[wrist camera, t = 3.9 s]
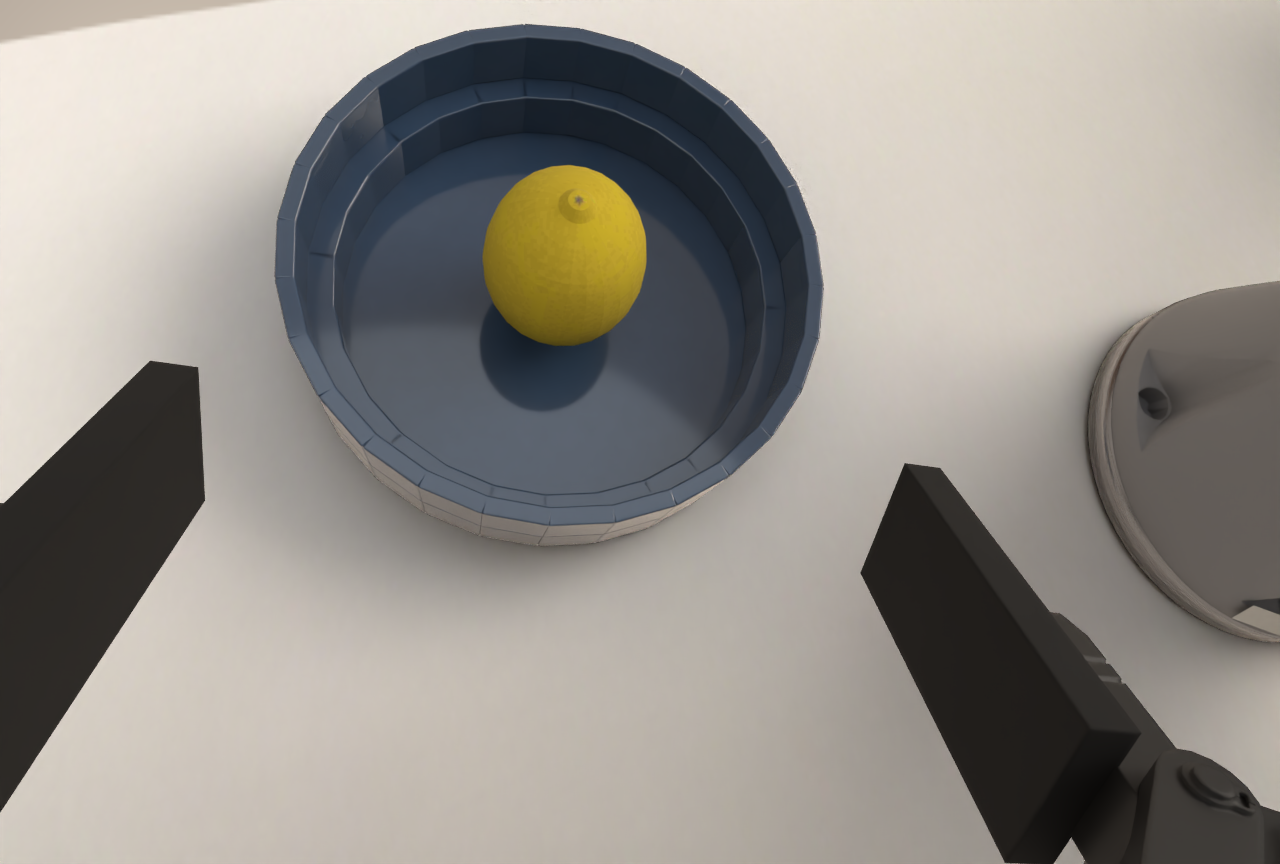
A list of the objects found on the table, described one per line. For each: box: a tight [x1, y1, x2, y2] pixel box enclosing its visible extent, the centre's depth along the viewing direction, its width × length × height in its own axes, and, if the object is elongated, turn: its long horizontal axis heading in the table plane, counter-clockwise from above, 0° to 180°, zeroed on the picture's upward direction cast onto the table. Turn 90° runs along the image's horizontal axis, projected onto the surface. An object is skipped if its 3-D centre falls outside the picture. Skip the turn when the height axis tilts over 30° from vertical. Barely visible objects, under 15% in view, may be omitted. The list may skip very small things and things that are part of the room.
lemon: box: [483, 165, 646, 346], centre depth 29 cm, size 6×6×8 cm
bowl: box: [275, 24, 824, 546], centre depth 31 cm, size 18×18×5 cm
